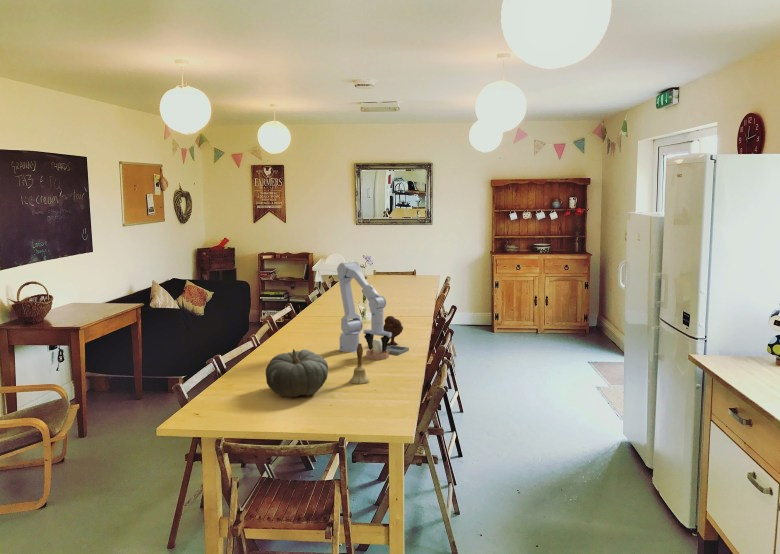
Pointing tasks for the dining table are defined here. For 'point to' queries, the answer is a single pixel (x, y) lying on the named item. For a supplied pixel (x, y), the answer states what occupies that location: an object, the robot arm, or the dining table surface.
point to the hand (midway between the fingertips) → (377, 350)
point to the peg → (377, 346)
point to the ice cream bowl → (392, 328)
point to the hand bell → (359, 369)
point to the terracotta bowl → (377, 355)
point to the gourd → (296, 373)
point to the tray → (397, 349)
